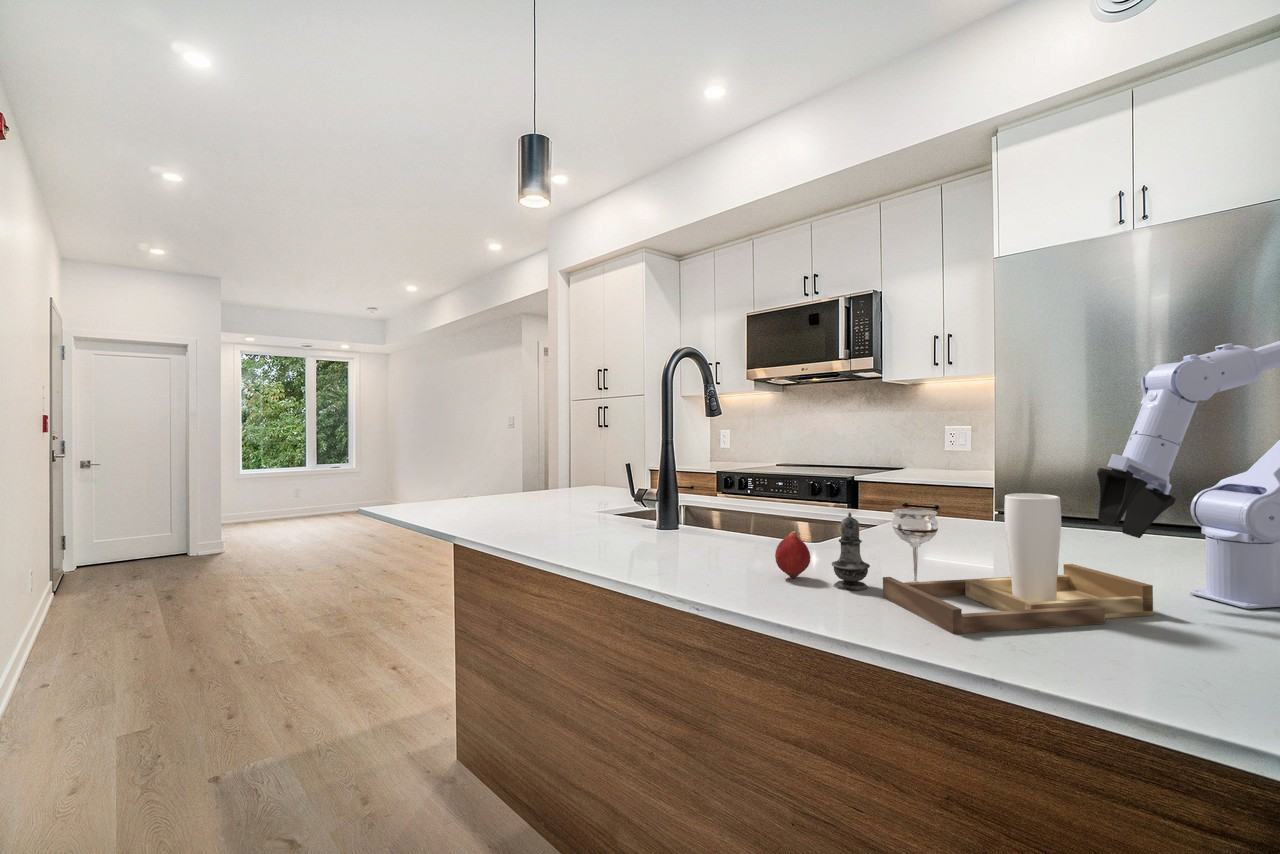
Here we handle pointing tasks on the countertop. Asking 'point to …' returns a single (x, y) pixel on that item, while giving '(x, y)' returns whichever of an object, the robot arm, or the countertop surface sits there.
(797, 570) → the onion
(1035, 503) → the drinking glass
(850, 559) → the salt shaker
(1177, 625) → the countertop surface
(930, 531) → the wineglass
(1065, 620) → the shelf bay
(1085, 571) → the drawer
